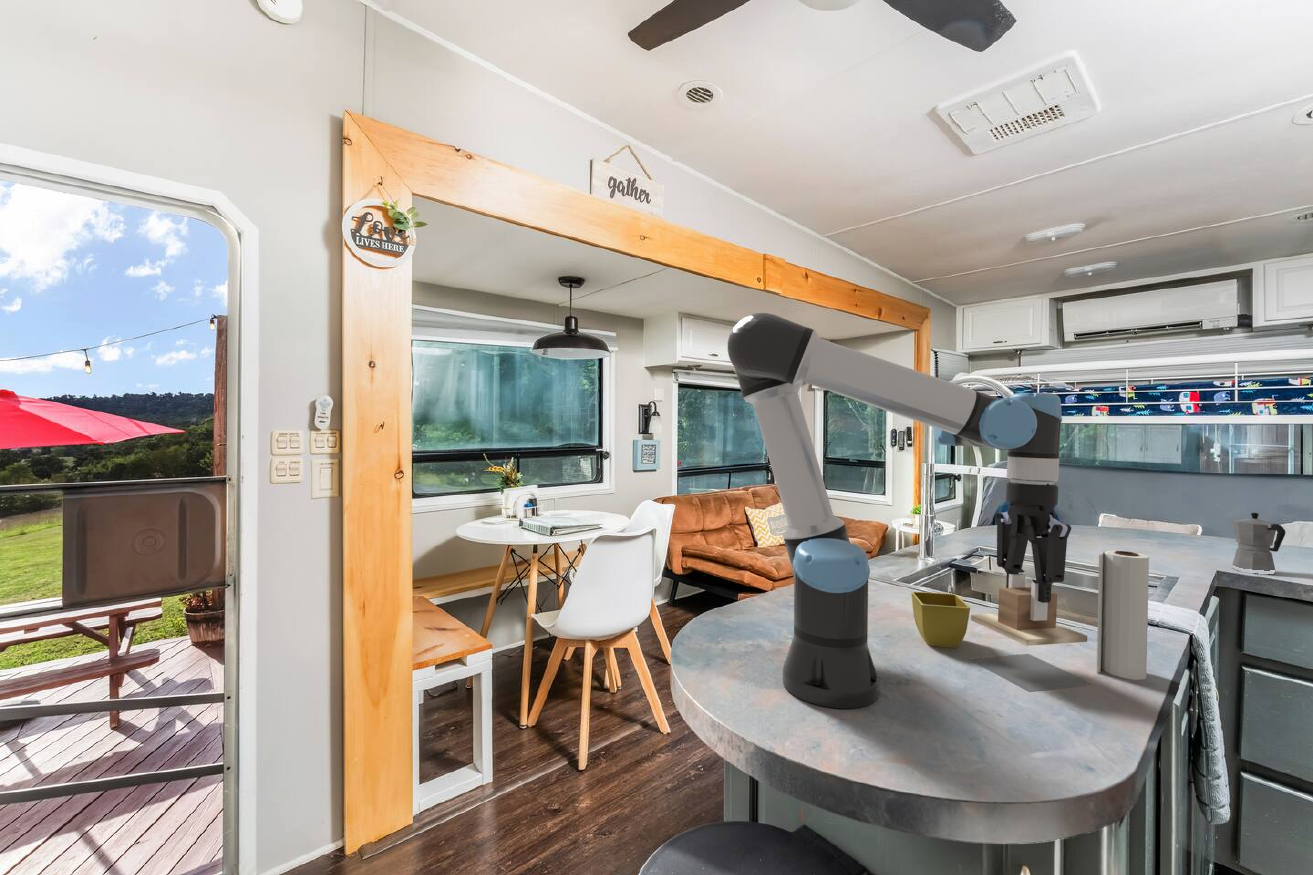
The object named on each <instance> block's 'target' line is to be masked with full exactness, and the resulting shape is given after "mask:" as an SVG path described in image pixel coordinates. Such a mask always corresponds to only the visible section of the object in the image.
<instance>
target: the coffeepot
mask: <svg viewBox="0 0 1313 875" xmlns="http://www.w3.org/2000/svg"><path fill="white" fill-rule="evenodd" d="M1259 515H1260V514H1259V513H1257V512H1250V516H1251V518H1242V519H1232V525H1233V532H1234V538H1235V542H1237V543H1238V544H1237V545H1238V548H1236V551H1235V552H1234V557H1233V560H1232V565H1234V566H1236V567H1239V568H1243V569H1252V570H1264V571H1270V570H1275V571H1276V568H1275V562H1274V558H1273V553H1272V552H1275V553H1276V552H1279V549H1280V548H1281V545H1282V542H1283V540H1284V538H1285V536H1286V529H1284V527H1283V526H1282V525H1281V524H1278V523H1273V522H1270V521H1266V520H1262V519H1259V518H1258V517H1259ZM1275 536H1276V538H1275ZM1272 546H1273V547H1272ZM1232 565H1231V566H1232Z"/></svg>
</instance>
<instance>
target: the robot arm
mask: <svg viewBox="0 0 1313 875" xmlns="http://www.w3.org/2000/svg"><path fill="white" fill-rule="evenodd" d="M727 353H728V354H727V356H728V358H729V360H730V362H731V365H732V366H733V368H734V370H735V374H736V378H737V380H738V384H739V388H740V391H741V396H742V398H743V400H744V401H746V402H747V403H749V404H751V405H752V406H753V407H754V410H755V411H754V412H755V415H756V418H757V421H758V424H759V429H760V433H761V436H762V439H763V443H764V445H765V449H766V450H765V451H766V454H767V456H768V459H769V463H770V467H771V470H772V474H773V478H774V481H775V485H776V488H777V491H778V494H779V498H780V501H781V505H782V508H783V512H784V516H785V519H786V522H787V527H786V529H785V530H784V532H783V534H782V538H783V541H784V545H785V549H786V551H787V555H788V559H789V563H790V566H791V569H792V574H793V576H792V577H793V589H794V590H793V594H794V596H793V597H794V598H793V600H794V601H793V602H794V603H793V638H792V641H791V643H790V646H789V649H788V651H787V655H786V656H785V657H786V658H785V661H784V664H783V665H782V685H783V687H784V688H785V690H787V691H788V692H789V693H790V694H792V695H793V696H795V697H796V698H799V699H801V700H802V701H806V702H808V703H811V704H814V705H817V706H822V707H827V708H835V709H856V708H862V707H866V706H869V705H871V704H873V703H874V702H875V701H876V700H878V698H879V692H880V691H879V684H880V683H879V682H880V681H879V676H878V674H877V670H876V668H875V665H874V661H873V658H872V655H871V651H870V648H869V644H868V643H869V642H868V641H869V640H868V639H869V638H868V636H869V635H868V634H869V633H868V631H869V629H868V628H869V627H868V626H869V625H868V624H869V620H868V619H869V616H868V615H869V578H870V572H871V570H870V569H871V568H870V564H869V557H868V555H867V552H866V551H865V549H863V547H861V546H859V545H858V544H856V543H852V542H851V540H850V537H849V534H848V530H847V528H846V527H847V526H846V524H845V521H844V520H843V519H841V518H839V517H838V516H837V515H835V514H834V513H833V510H832V505H831V503H830V499H829V496H828V492H827V489H826V485H825V482H824V481H825V480H824V479H823V474H822V472H821V468H820V465H819V461H818V458H817V454H816V452H815V448H814V445H813V441H812V438H811V433H810V430H809V427H808V424H807V420H806V416H805V413H804V409H803V407H802V403H801V402H802V401H801V399H800V395H799V390H800V388H801V387H802V385H803V384H804V383H806V384H808V385H811V386H814V387H817V388H820V389H823V390H826V391H829V392H832V393H834V394H837V395H840V396H843V397H846V398H849V399H852V400H854V401H857V402H860V403H862V404H866V405H868V406H869V405H870V406H871V407H874V408H878V409H880V410H883V411H886V412H888V413H891V414H895V415H898V416H900V417H903V418H906V419H909V420H911V421H915V422H917V423H921V424H923V425H925V426H929V427H932V428H933V435H934V439H935V441H936V442H937V443H938V444H939V445H941V446H953V447H958V446H959V447H975V448H976V447H977V448H989V449H990V448H991V449H996V450H1000V451H1006V450H1007V464H1006V478H1007V479H1008V480H1010V481H1007V483H1006V488H1005V501H1006V503H1008V504H1009V506H1008V508H1007V511H1003V512H996V513H995V514H994V518H995V523H996V565H997V567H999V568H1002V569H1003V570H1004V572H1005V573H1006V582H1005V588H1021V587H1026V574H1023V573H1025V570H1024V569H1023V565H1024V561H1025V556H1026V552H1027V547H1028V542H1030V545H1031V552H1032V560H1033V565H1034V567H1033V568H1034V574H1035V579H1032V581H1031V586H1030V587H1031V610H1030V620H1033V621H1040V620H1047V610H1048V602H1050V601H1051V592H1052V585H1053V584H1054V583H1055V584H1056V583H1063V582H1064V581H1065V574H1066V573H1065V572H1066V571H1065V570H1066V558H1067V544H1068V538H1069V535H1070V533H1071V531H1072V526H1071V525H1070V524H1069V523H1068V524H1067V523H1066V524H1064V523H1062V522H1060V521H1059V520H1057V517H1056V514H1055V510H1054V509H1055V507H1056V506H1057V505H1058V504H1059V486H1058V485H1057V484H1055V483H1056V482H1058V481H1059V474H1060V473H1059V472H1060V445H1061V429H1062V422H1063V418H1062V417H1063V416H1062V402H1061V401H1062V400H1061V397H1060V396H1059V395H1058V394H1056V393H1053V392H1052V393H1051V392H1023V393H1022V392H1020V393H1018V392H1017V393H1013V394H1012V395H1010V397H1007V398H1004V397H1002V398H999V397H995V396H992V395H990V394H987V393H984V392H981V391H977V390H975V389H972V388H969V387H966V386H963V385H960V384H957V383H954V382H951V381H948V380H945V379H942V378H939V377H937V376H933V375H930V374H928V373H925V372H921V371H918V370H915V369H912V368H909V367H907V366H903V365H900V364H898V363H894V362H892V361H889V360H886V359H883V358H880V357H876V356H874V355H870V354H868V353H866V352H861V351H859V350H856V349H853V348H850V347H847V346H844V345H840V344H837V343H835V342H832V341H829V340H825V339H824V338H821V337H820V336H819V334H818V333H817V331H816V329H814V328H810V327H808V326H804V325H801V324H799V323H796V322H794V321H791V320H789V319H786V318H784V317H782V316H778V315H776V314H773V313H768V312H756V313H751V314H749V315H746V316H745V317H743V318H742V319H740V320H739V321H738V322H737V323H736V324H735V325H734V326H733V328H732V329H731V331H730V333H729V336H728V340H727Z"/></svg>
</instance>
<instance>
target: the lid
mask: <svg viewBox="0 0 1313 875" xmlns="http://www.w3.org/2000/svg"><path fill="white" fill-rule="evenodd" d="M1057 603H1058V593H1057V592H1054V591H1051V601H1050V602H1048V610H1047V620H1040V621H1033V620H1030V610H1031V586H1027V587H1026V586H1025V587H1021V588H1006V587H1002V588H1001V587H1000V588H999V589H998V608H997V609H998V611H997V613H982V614H981V613H980V614H971V615H970V621H972V622H974V623H975V624H978V625H981V626H983V627H985V628H987V629H989V630H992V631H993V632H995V633H998V634H1000V635H1002V636H1004V637H1007V638H1008V639H1011V640H1013V641H1015V642H1017V643H1020V644H1021V645H1024V646H1026V647H1027V646H1028V647H1029V646H1042V645H1043V646H1044V645H1057V644H1061V645H1062V644H1072V643H1077V644H1078V643H1085V642H1087V643H1088V635H1086V634H1084V633H1082V632H1078V631H1076V630H1074V629H1071V628H1068V627H1066V626H1064V625H1060V624H1058V623H1057V612H1058V611H1057V610H1058V609H1057V608H1058V604H1057Z"/></svg>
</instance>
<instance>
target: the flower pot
mask: <svg viewBox="0 0 1313 875" xmlns="http://www.w3.org/2000/svg"><path fill="white" fill-rule="evenodd" d="M911 603H912V611H913V612H912V613H913V618H914V623H915V626H916V629H917V630H918V632H919V634H920V637H921V638H922V639H923V641H924V642H925V644H926V645H927V646H931V647H940V648H941V647H943V648H954V649H956V648H957V647H959V646H960V645H961V643H962V641H963V640H964V638H965V635H966V634H967V630H968V623H969V618H970V613H971V607H970V606H969V605H968V604H967V603H966V602H965V601H964V600H963V599H962V598H961V596H959V595H957V594H955V593H942V592H927V591H911Z"/></svg>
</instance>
